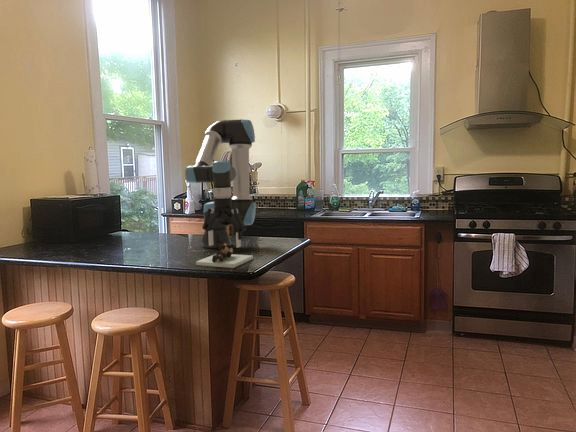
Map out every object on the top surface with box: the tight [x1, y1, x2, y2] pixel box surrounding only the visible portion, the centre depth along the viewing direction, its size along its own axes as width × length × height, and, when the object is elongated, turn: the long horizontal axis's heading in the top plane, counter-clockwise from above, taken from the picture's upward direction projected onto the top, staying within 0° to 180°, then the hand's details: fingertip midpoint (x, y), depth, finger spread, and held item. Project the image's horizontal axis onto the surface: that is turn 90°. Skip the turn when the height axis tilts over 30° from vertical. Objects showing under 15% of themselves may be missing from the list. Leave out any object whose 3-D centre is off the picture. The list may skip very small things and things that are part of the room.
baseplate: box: [195, 253, 254, 269], centre depth 197 cm, size 18×18×2 cm
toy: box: [212, 244, 234, 263], centre depth 195 cm, size 6×7×15 cm
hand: (224, 246), depth 197 cm, fingers open, 13 cm apart
